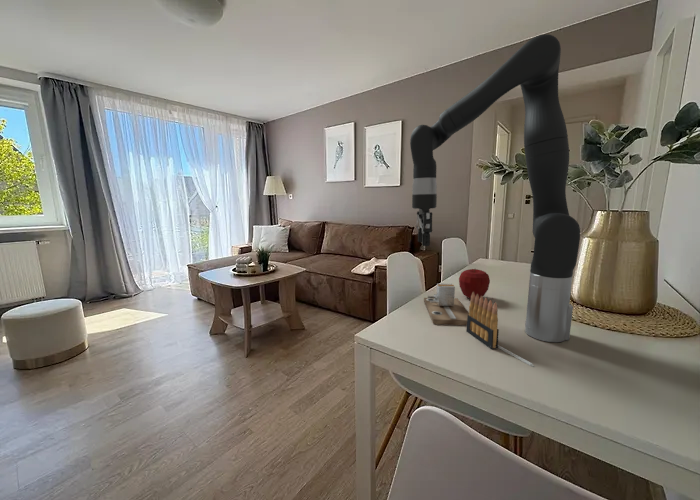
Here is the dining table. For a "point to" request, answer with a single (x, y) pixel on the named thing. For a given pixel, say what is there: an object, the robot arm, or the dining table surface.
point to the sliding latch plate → (446, 312)
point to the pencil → (516, 356)
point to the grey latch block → (445, 295)
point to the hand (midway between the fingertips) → (423, 243)
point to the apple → (474, 282)
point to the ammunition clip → (483, 321)
